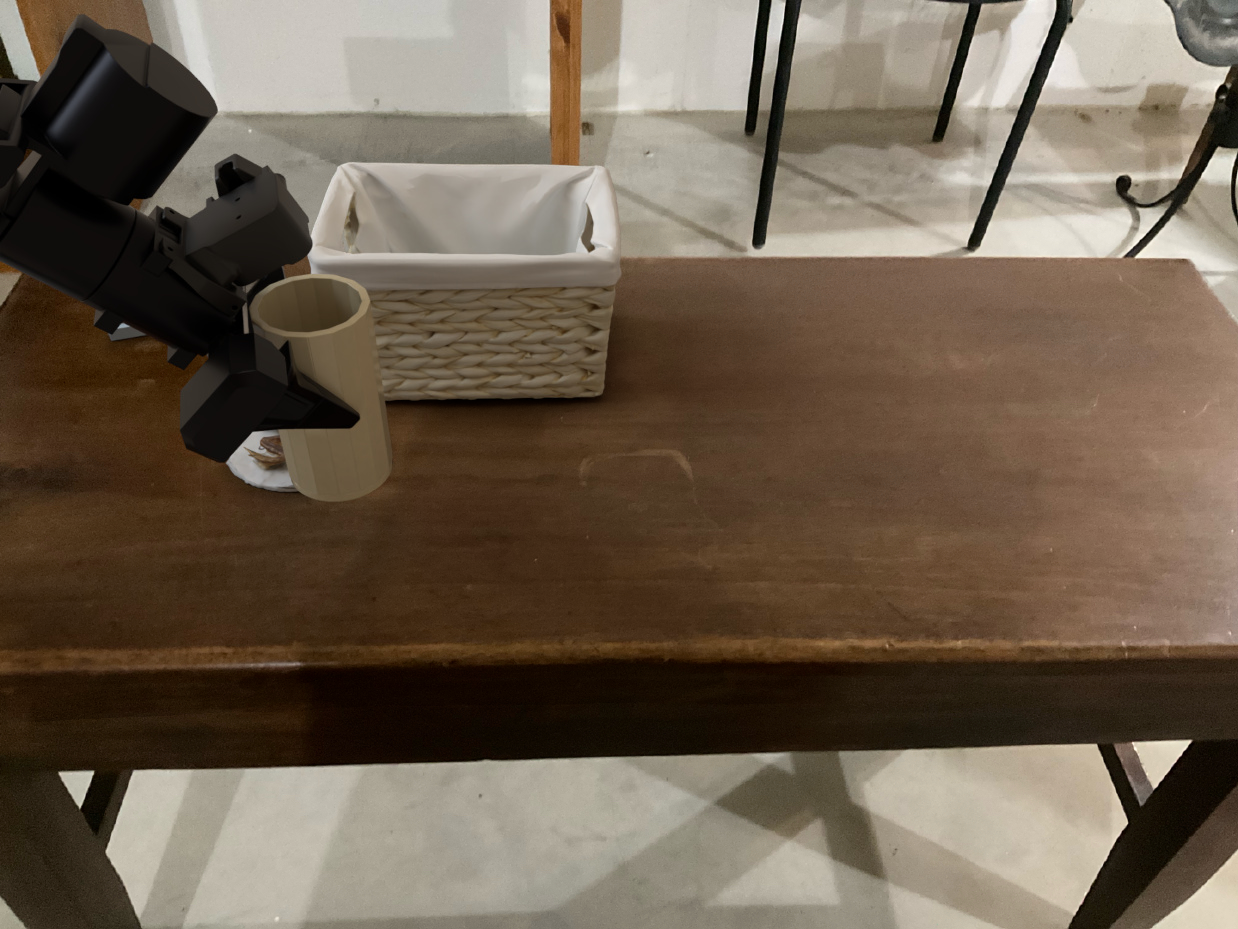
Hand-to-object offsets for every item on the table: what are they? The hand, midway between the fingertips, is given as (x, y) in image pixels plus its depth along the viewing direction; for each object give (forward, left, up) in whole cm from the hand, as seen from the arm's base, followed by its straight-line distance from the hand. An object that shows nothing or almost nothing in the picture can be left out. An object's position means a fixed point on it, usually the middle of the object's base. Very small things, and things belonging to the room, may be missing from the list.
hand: (349, 386), depth 61 cm
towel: (-12, +34, -13) cm, 38 cm away
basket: (+13, +19, -14) cm, 26 cm away
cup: (-2, 0, -7) cm, 7 cm away
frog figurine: (-4, +11, -14) cm, 18 cm away
